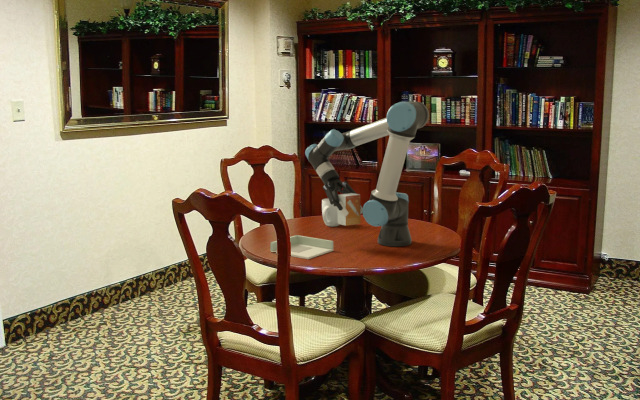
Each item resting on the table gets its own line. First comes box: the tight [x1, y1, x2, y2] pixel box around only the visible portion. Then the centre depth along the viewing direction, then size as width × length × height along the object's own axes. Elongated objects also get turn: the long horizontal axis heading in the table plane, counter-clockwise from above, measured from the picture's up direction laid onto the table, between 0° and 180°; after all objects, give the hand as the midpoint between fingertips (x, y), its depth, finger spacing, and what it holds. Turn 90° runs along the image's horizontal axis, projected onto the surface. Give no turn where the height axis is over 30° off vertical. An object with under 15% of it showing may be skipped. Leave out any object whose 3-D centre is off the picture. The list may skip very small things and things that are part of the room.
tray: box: [269, 234, 334, 260], centre depth 285 cm, size 20×18×4 cm
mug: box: [321, 198, 341, 228], centre depth 337 cm, size 15×11×13 cm
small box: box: [338, 193, 361, 226], centre depth 291 cm, size 8×6×13 cm
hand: (354, 213), depth 289 cm, fingers closed on small box, 9 cm apart
